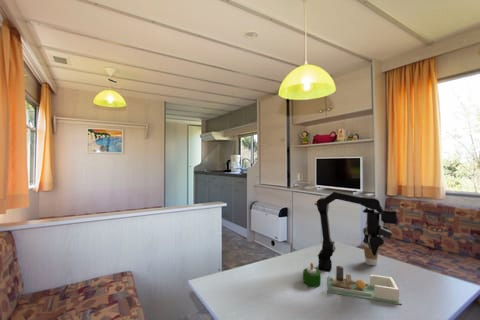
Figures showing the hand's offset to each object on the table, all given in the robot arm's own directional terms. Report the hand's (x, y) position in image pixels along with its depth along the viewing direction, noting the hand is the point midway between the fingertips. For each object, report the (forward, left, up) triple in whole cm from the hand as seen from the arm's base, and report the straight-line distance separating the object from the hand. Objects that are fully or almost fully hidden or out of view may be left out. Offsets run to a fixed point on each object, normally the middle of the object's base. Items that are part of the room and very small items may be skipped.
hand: (372, 251), depth 124 cm
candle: (-29, -15, -14) cm, 36 cm away
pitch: (-6, -14, -14) cm, 21 cm away
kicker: (-15, -14, -13) cm, 24 cm away
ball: (-7, -14, -11) cm, 19 cm away
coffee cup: (+3, +20, -14) cm, 24 cm away
